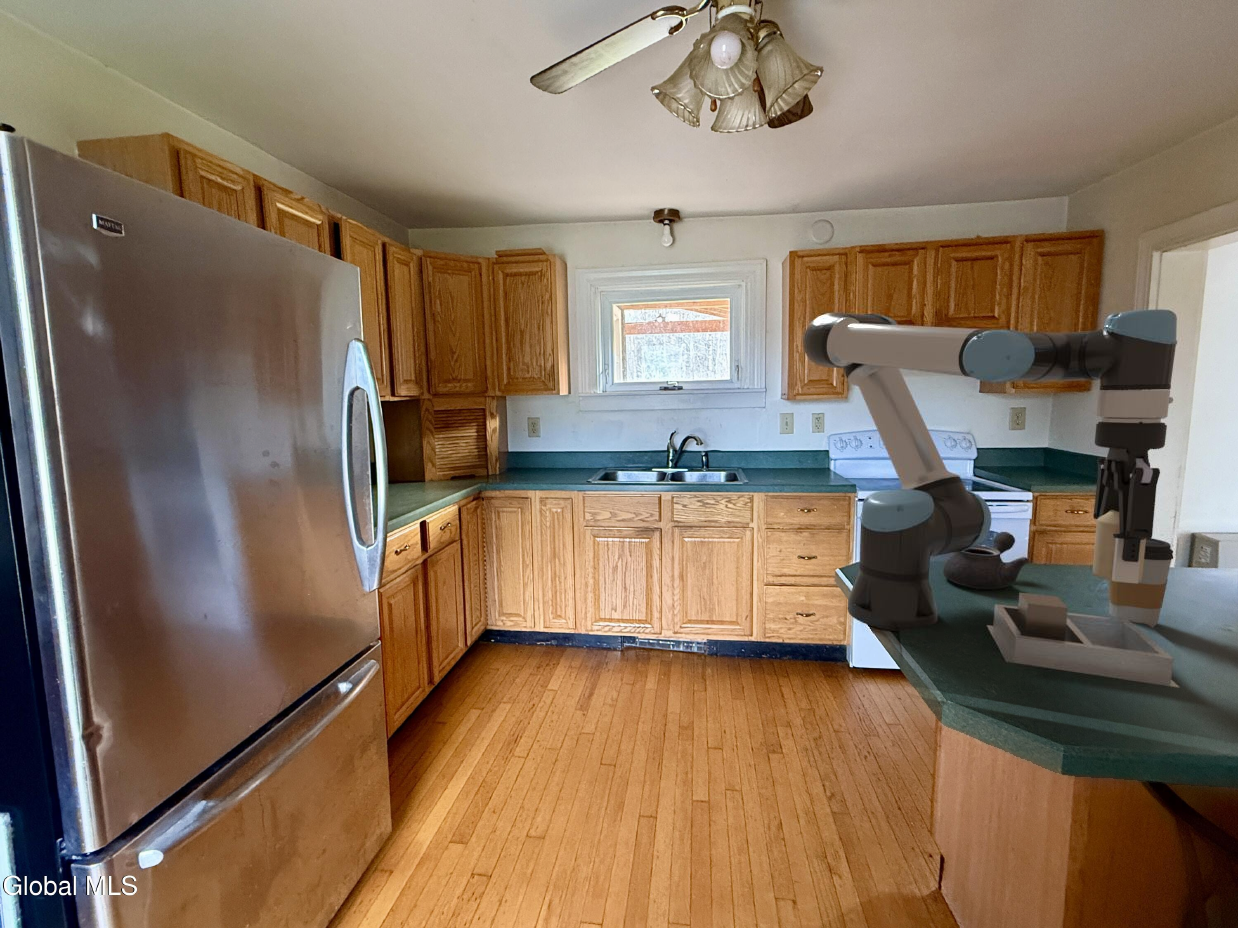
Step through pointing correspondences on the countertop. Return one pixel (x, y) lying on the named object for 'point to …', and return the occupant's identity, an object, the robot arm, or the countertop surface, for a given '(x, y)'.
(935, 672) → the countertop surface
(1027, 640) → the divided tray
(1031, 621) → the block
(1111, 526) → the candle
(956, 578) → the teapot
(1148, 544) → the coffee cup
